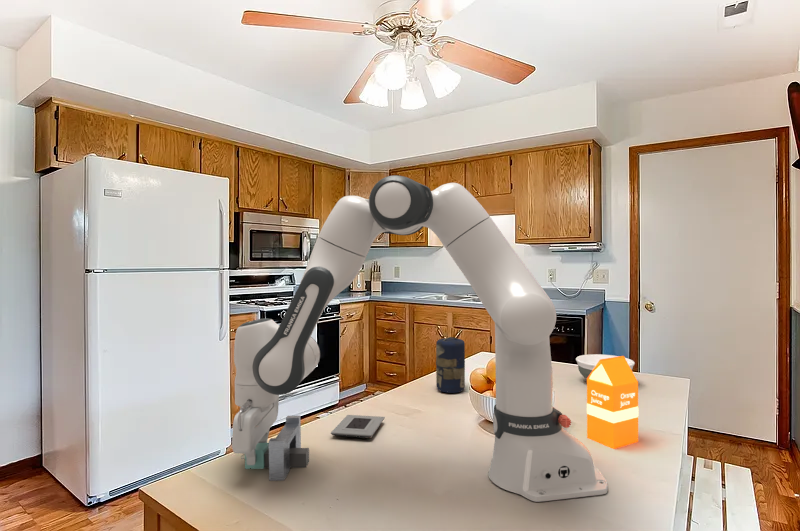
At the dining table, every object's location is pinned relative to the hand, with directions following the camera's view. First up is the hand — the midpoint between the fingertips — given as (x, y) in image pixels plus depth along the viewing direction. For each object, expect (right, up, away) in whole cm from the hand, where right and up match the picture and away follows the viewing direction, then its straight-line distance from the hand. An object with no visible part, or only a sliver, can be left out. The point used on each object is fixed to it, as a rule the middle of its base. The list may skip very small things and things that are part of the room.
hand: (257, 456), depth 101 cm
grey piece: (+6, -2, 0) cm, 7 cm away
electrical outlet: (+21, -2, +19) cm, 28 cm away
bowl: (+102, +1, +60) cm, 118 cm away
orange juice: (+82, -1, +11) cm, 83 cm away
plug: (+4, -2, 0) cm, 4 cm away
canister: (+48, 0, +53) cm, 72 cm away
